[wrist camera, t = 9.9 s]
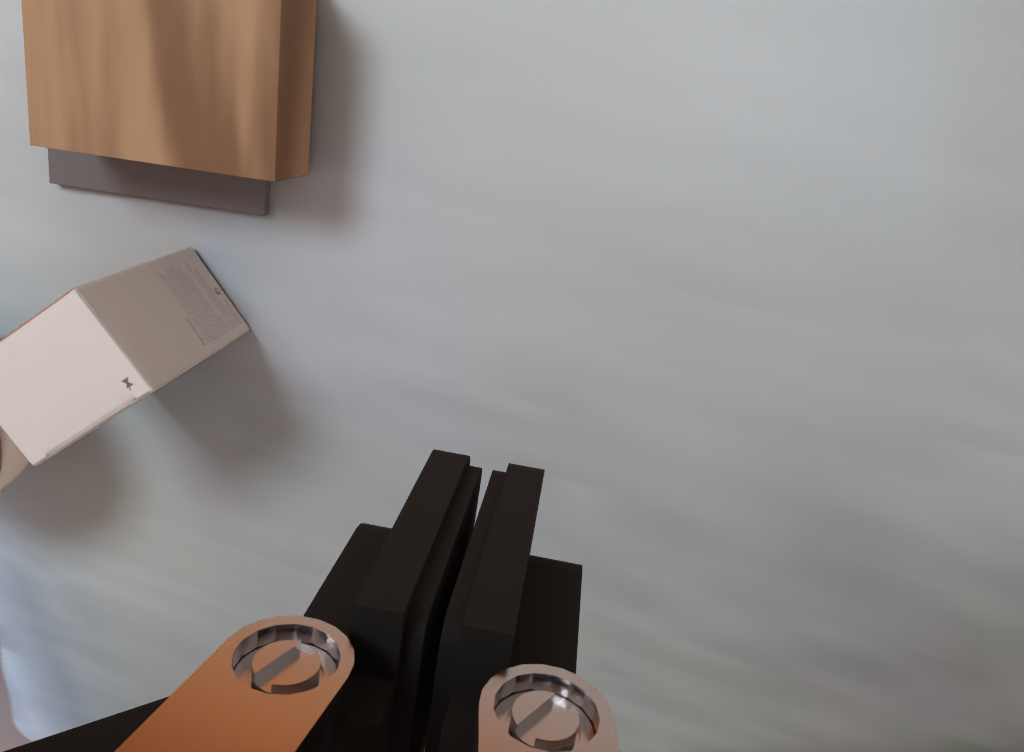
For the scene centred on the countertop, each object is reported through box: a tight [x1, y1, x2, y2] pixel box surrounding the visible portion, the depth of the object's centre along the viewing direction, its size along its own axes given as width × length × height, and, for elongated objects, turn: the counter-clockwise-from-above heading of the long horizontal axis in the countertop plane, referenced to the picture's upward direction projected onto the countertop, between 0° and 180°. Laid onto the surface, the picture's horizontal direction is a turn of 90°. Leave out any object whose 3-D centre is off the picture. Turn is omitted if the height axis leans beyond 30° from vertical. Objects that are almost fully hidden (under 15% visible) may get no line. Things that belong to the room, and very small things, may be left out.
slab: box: [22, 0, 317, 182], centre depth 39 cm, size 5×9×12 cm
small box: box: [0, 248, 249, 466], centre depth 41 cm, size 8×6×10 cm
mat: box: [48, 148, 270, 216], centre depth 41 cm, size 12×14×1 cm
